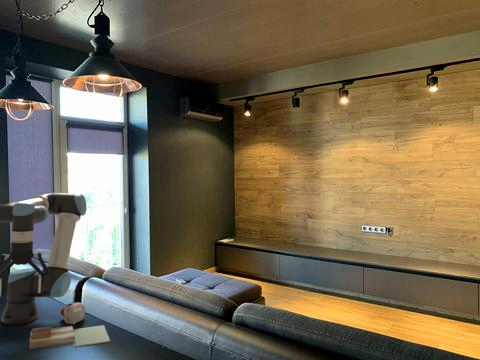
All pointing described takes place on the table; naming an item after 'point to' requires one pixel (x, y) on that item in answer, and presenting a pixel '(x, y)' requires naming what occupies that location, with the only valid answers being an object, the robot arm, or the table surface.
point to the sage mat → (90, 336)
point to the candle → (73, 312)
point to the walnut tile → (41, 333)
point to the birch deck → (54, 338)
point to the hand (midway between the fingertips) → (19, 294)
